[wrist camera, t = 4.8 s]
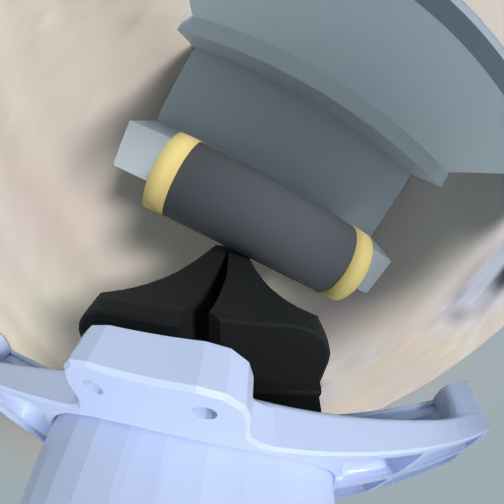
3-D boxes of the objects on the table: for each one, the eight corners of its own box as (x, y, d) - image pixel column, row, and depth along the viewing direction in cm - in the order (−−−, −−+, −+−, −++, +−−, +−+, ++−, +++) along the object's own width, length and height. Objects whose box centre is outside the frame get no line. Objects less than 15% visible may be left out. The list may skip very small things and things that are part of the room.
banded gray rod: (354, 224, 12) (384, 246, 9) (319, 279, 13) (337, 314, 10) (190, 135, 10) (171, 128, 7) (160, 199, 11) (132, 215, 8)
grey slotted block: (416, 160, 13) (450, 171, 10) (349, 262, 16) (366, 293, 13) (204, 34, 11) (188, 11, 8) (143, 155, 14) (113, 164, 11)
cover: (447, 172, 10) (452, 157, 10) (564, 179, 3) (565, 157, 3) (192, 16, 7) (204, 2, 7) (170, -103, 1) (194, -113, 1)
